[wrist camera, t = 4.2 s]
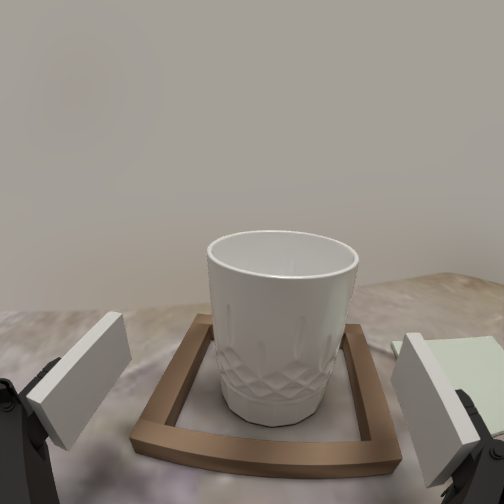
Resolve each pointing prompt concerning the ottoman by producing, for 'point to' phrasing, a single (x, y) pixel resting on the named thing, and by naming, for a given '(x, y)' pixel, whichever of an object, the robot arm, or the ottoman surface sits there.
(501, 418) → the sage tile
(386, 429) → the walnut collar
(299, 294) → the white cup
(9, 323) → the ottoman surface
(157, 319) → the ottoman surface
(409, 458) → the ottoman surface
